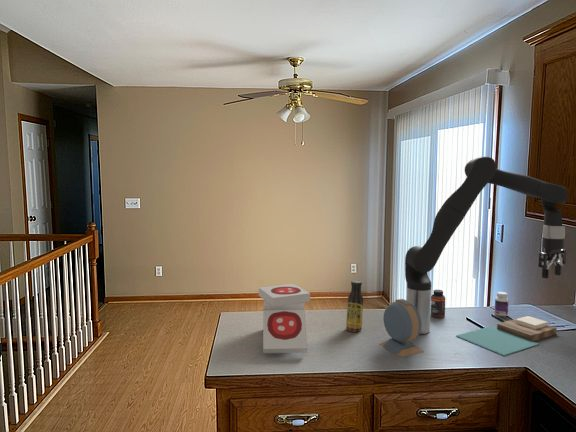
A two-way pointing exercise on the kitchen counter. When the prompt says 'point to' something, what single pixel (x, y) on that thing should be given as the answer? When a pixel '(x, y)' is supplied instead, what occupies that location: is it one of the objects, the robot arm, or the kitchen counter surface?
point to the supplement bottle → (438, 304)
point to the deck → (526, 330)
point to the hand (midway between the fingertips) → (551, 276)
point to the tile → (531, 322)
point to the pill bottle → (501, 304)
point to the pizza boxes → (284, 319)
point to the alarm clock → (402, 328)
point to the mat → (497, 340)
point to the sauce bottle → (355, 308)
